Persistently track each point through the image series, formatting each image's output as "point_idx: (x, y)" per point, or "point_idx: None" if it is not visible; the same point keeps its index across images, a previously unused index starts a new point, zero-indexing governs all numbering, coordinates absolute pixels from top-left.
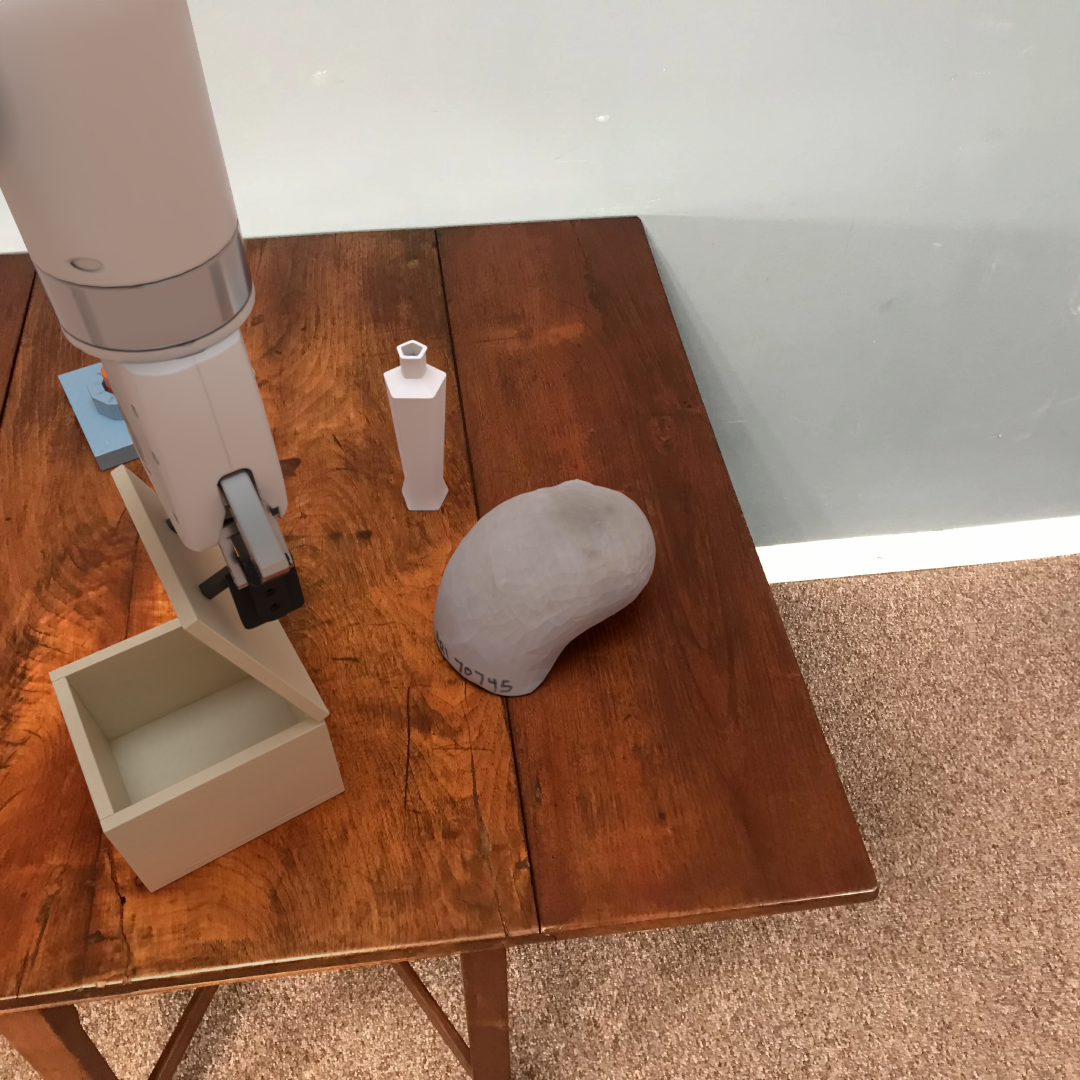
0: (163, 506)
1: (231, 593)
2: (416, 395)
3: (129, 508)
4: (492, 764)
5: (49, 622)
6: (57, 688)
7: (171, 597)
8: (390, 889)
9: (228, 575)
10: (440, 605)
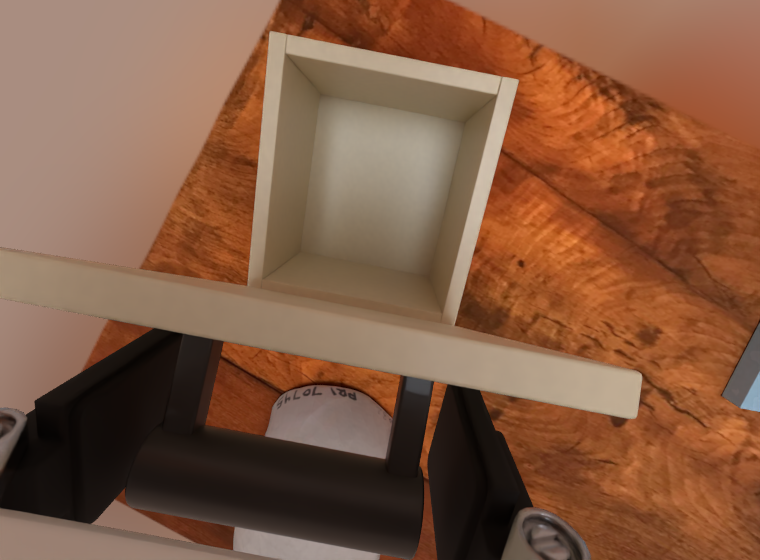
0: (84, 535)
1: (102, 370)
2: None
3: (460, 345)
4: (241, 351)
5: (642, 143)
6: (487, 78)
7: (69, 270)
8: (202, 235)
9: (54, 413)
10: (357, 423)
